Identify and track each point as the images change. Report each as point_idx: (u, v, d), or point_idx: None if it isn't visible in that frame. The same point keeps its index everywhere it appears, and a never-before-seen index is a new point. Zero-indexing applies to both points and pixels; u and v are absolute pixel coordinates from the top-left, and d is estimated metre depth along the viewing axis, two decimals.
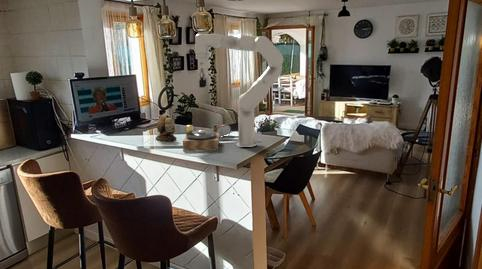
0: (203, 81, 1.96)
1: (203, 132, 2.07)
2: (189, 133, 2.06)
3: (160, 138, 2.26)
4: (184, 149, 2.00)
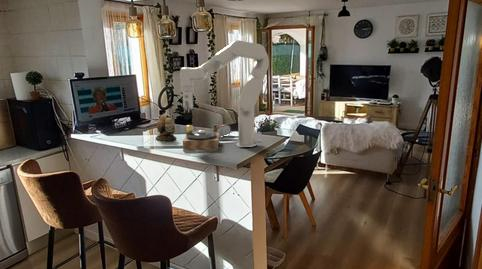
0: (188, 113, 2.00)
1: (203, 132, 2.07)
2: (189, 133, 2.06)
3: (160, 138, 2.26)
4: (184, 149, 2.00)
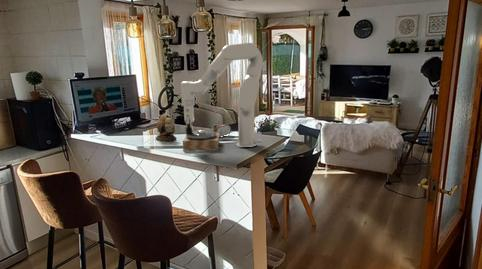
0: (190, 128, 2.05)
1: (203, 132, 2.07)
2: None
3: (160, 138, 2.26)
4: (184, 149, 2.00)
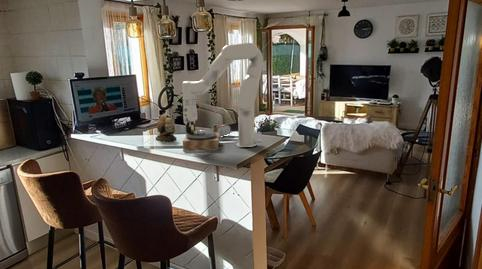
0: (189, 127, 2.07)
1: (202, 132, 2.06)
2: None
3: (160, 138, 2.26)
4: (184, 149, 2.00)
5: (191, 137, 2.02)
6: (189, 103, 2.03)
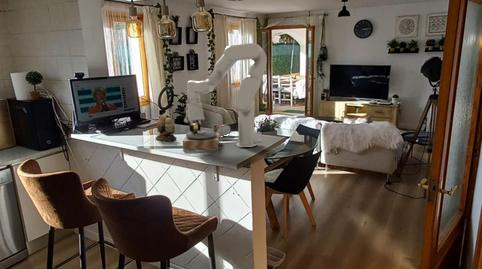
0: (191, 126, 2.11)
1: (199, 132, 2.06)
2: None
3: (160, 138, 2.26)
4: (184, 149, 2.00)
5: (186, 136, 2.06)
6: (190, 102, 2.07)
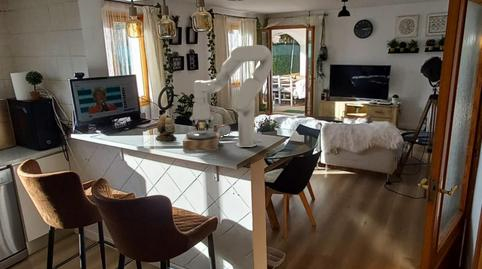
0: (196, 125, 2.14)
1: (197, 132, 2.07)
2: (198, 130, 2.15)
3: (160, 138, 2.26)
4: (184, 149, 2.00)
5: None
6: (195, 101, 2.10)
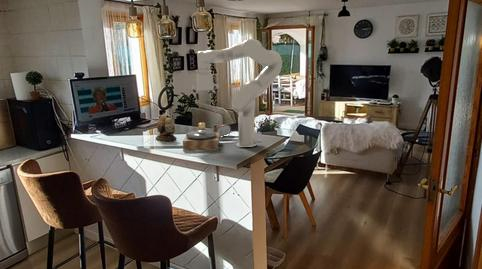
0: (196, 94, 2.13)
1: (197, 132, 2.07)
2: (198, 130, 2.15)
3: (160, 138, 2.26)
4: (184, 149, 2.00)
5: None
6: (198, 72, 2.10)
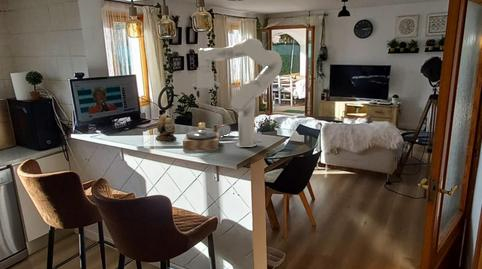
0: (197, 92, 2.14)
1: (197, 132, 2.07)
2: (198, 130, 2.15)
3: (160, 138, 2.26)
4: (184, 149, 2.00)
5: None
6: (199, 70, 2.11)
